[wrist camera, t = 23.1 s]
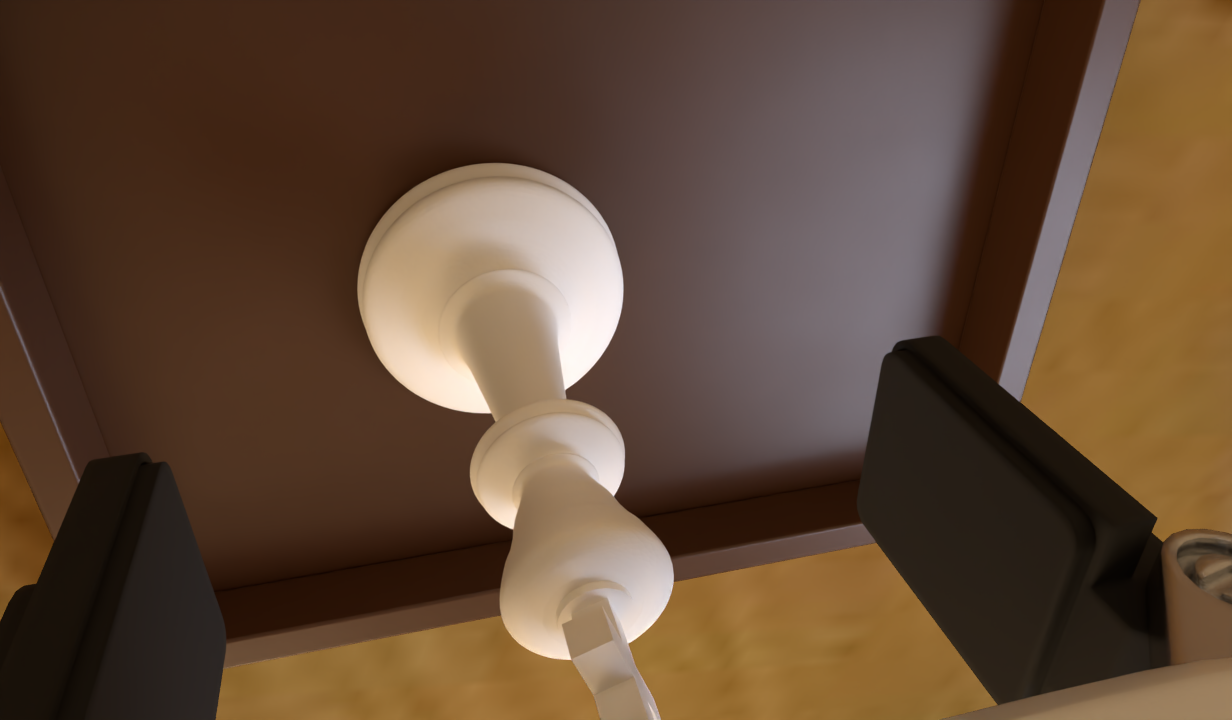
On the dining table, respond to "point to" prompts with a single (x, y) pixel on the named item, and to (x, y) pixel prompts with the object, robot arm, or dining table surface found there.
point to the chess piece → (526, 400)
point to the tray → (577, 154)
